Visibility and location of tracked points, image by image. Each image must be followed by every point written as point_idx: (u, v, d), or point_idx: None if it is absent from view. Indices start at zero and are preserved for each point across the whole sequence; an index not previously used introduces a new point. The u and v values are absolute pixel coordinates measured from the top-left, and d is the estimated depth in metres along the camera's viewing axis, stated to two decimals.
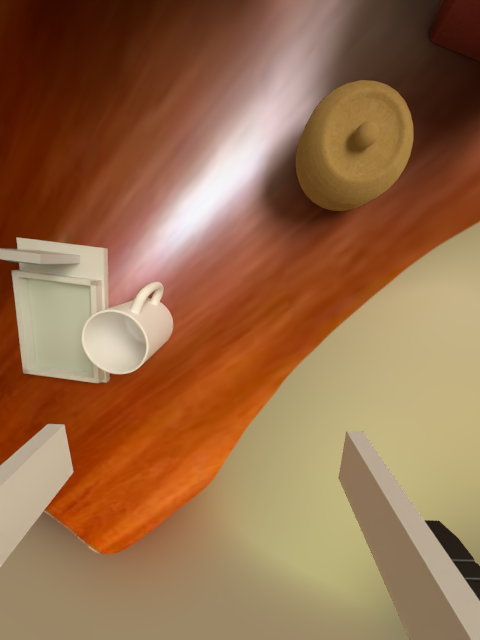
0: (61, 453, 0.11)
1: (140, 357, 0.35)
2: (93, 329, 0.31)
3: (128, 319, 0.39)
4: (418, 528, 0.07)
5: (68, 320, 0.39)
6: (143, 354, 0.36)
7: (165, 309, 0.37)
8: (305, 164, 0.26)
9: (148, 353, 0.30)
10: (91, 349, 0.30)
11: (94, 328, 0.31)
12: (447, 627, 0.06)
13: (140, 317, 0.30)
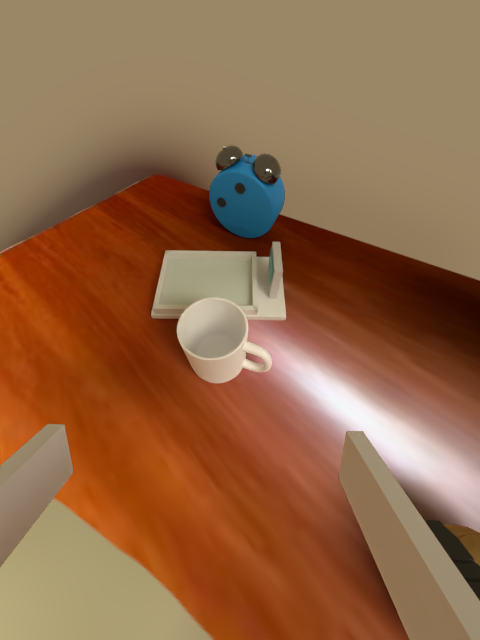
0: (61, 453, 0.11)
1: None
2: (221, 307, 0.31)
3: (220, 336, 0.38)
4: (418, 528, 0.07)
5: (215, 286, 0.42)
6: None
7: (236, 374, 0.34)
8: None
9: (201, 360, 0.26)
10: (202, 304, 0.30)
11: (221, 307, 0.32)
12: (447, 627, 0.06)
13: (240, 351, 0.28)
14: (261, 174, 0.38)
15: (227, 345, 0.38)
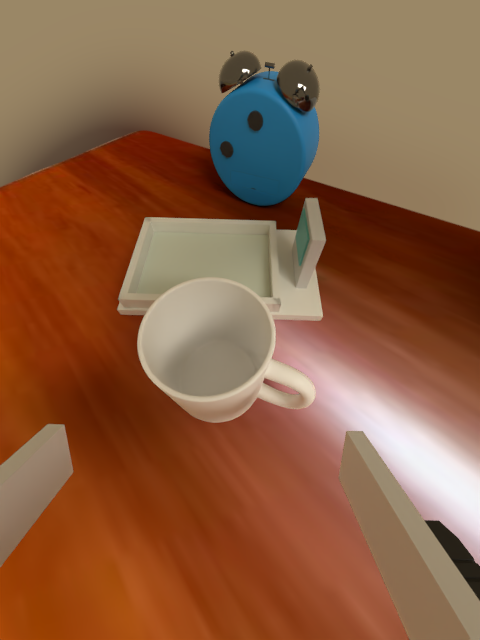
0: (61, 453, 0.11)
1: (163, 370, 0.18)
2: (224, 296, 0.18)
3: (222, 344, 0.25)
4: (418, 528, 0.07)
5: (215, 269, 0.29)
6: (167, 373, 0.19)
7: (247, 409, 0.21)
8: None
9: (183, 400, 0.13)
10: (191, 290, 0.17)
11: (224, 297, 0.18)
12: (447, 627, 0.06)
13: (259, 379, 0.14)
14: (291, 91, 0.24)
15: (232, 358, 0.24)
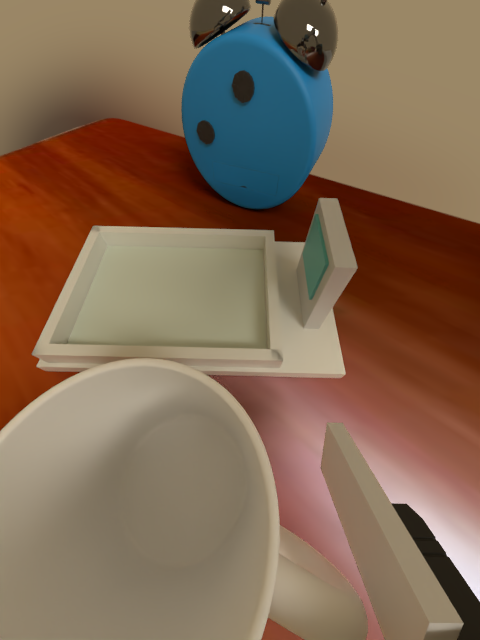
0: None
1: (61, 526, 0.09)
2: (177, 383, 0.09)
3: (193, 421, 0.16)
4: (384, 509, 0.08)
5: (189, 299, 0.20)
6: (78, 517, 0.10)
7: None
8: None
9: None
10: (105, 382, 0.08)
11: (179, 384, 0.09)
12: (402, 594, 0.06)
13: None
14: (296, 34, 0.16)
15: (209, 446, 0.15)
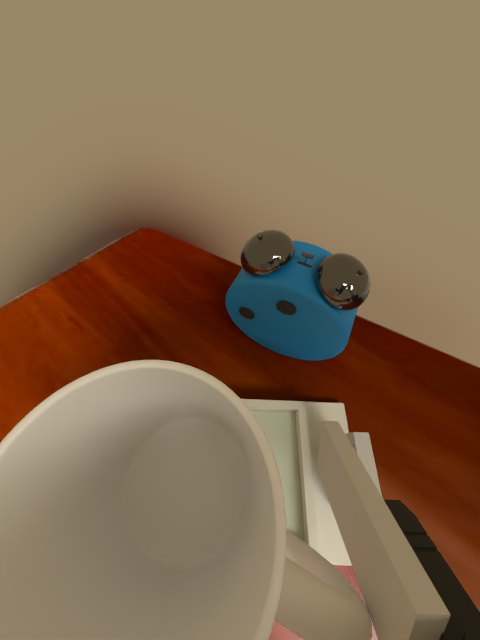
0: None
1: (67, 524, 0.09)
2: (184, 384, 0.09)
3: (196, 422, 0.16)
4: (376, 505, 0.08)
5: None
6: (83, 515, 0.11)
7: None
8: None
9: None
10: (114, 382, 0.09)
11: (186, 385, 0.10)
12: (392, 588, 0.06)
13: None
14: (337, 300, 0.19)
15: (212, 447, 0.15)
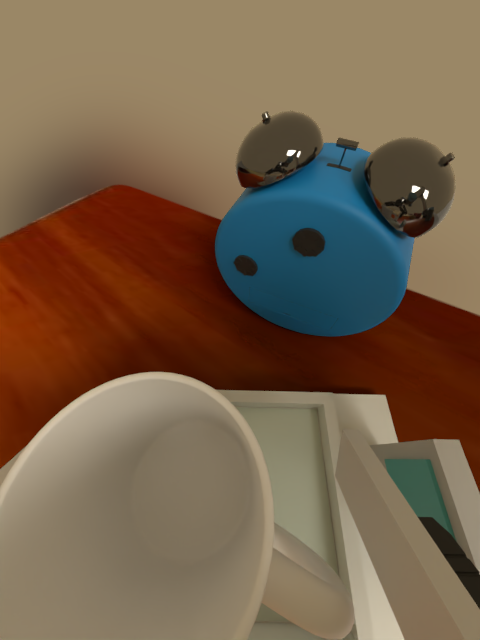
0: None
1: (82, 519, 0.10)
2: (186, 393, 0.10)
3: (200, 426, 0.17)
4: (411, 524, 0.07)
5: None
6: (96, 512, 0.12)
7: None
8: None
9: None
10: (123, 392, 0.10)
11: (188, 394, 0.11)
12: (437, 620, 0.06)
13: None
14: (403, 209, 0.11)
15: (214, 450, 0.16)
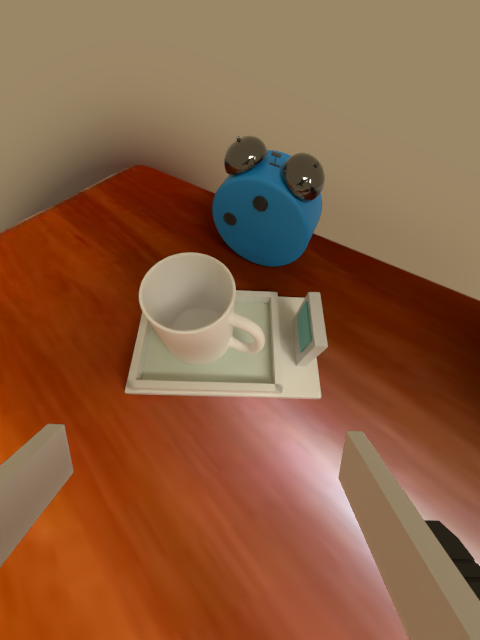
0: (61, 453, 0.11)
1: (156, 321, 0.24)
2: (202, 267, 0.24)
3: (203, 309, 0.31)
4: (418, 528, 0.07)
5: None
6: None
7: (220, 355, 0.28)
8: None
9: (170, 333, 0.19)
10: (177, 262, 0.23)
11: (203, 268, 0.24)
12: (447, 627, 0.06)
13: (223, 324, 0.21)
14: (297, 187, 0.24)
15: (211, 320, 0.31)
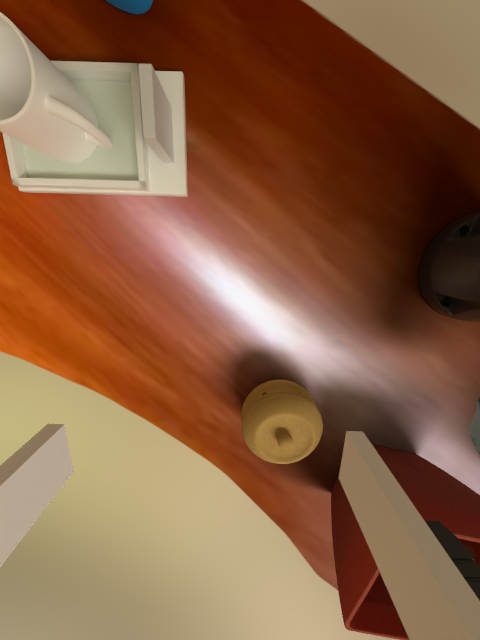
0: (61, 453, 0.11)
1: None
2: (3, 27, 0.21)
3: None
4: (418, 528, 0.07)
5: None
6: (6, 116, 0.26)
7: (87, 152, 0.29)
8: (267, 398, 0.33)
9: None
10: None
11: (4, 28, 0.21)
12: (447, 627, 0.06)
13: (40, 112, 0.22)
14: None
15: None
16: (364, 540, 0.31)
